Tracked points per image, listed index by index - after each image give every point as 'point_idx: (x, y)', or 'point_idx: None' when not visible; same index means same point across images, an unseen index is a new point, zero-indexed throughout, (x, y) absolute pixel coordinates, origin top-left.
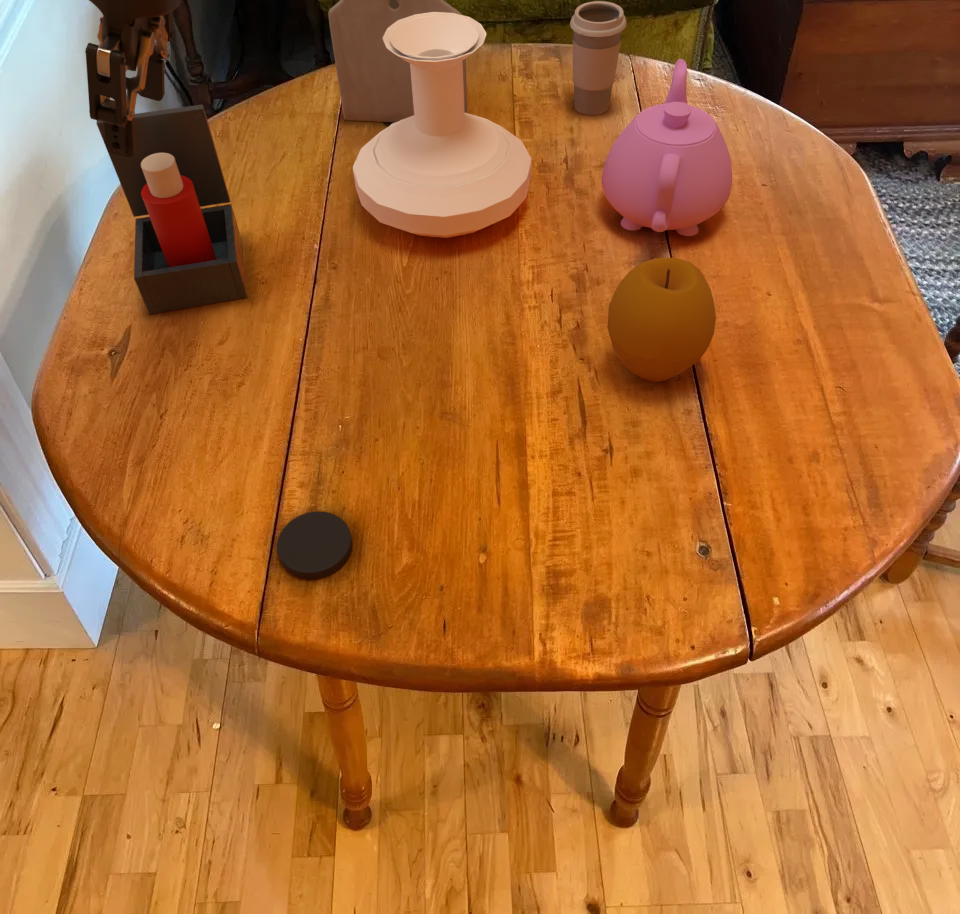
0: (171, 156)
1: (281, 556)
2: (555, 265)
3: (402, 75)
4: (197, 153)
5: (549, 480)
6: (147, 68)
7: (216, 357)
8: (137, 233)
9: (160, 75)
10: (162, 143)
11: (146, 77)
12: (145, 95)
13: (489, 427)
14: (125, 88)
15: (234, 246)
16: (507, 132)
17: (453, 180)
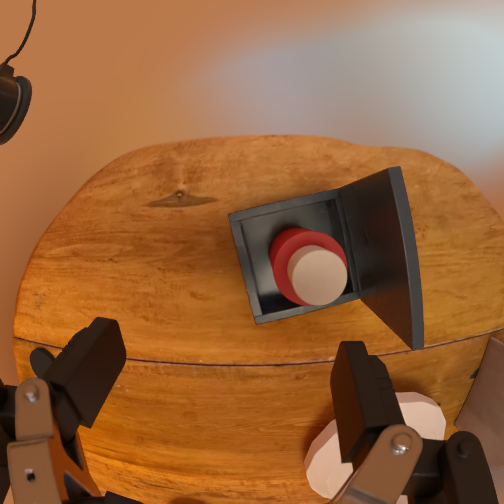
0: (334, 297)
1: (33, 352)
2: (284, 491)
3: (493, 404)
4: (382, 300)
5: (112, 465)
6: (348, 424)
7: (175, 293)
8: (311, 197)
9: (339, 432)
10: (385, 262)
11: (345, 398)
12: (338, 355)
13: (137, 454)
14: (7, 484)
15: (282, 318)
16: None
17: (333, 486)
